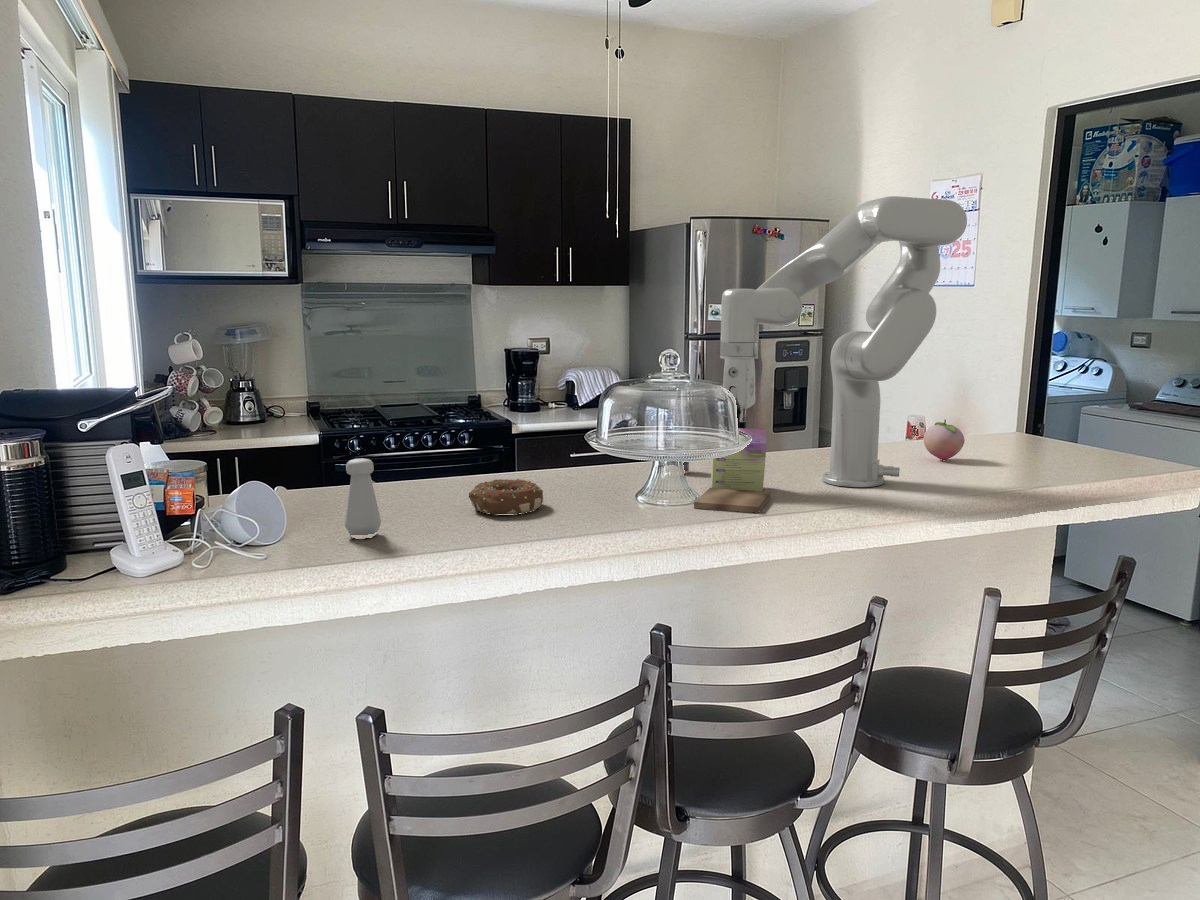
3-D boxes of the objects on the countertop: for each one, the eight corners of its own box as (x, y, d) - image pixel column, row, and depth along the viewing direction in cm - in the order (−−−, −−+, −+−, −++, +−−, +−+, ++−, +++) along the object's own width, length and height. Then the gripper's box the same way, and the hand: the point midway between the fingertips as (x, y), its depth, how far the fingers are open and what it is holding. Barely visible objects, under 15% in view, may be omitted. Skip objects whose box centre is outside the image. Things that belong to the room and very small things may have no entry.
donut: (492, 499, 168) (492, 474, 167) (555, 504, 163) (555, 479, 162) (454, 516, 155) (453, 489, 154) (521, 522, 150) (520, 495, 149)
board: (770, 497, 166) (770, 491, 166) (758, 513, 154) (758, 506, 154) (710, 493, 171) (710, 487, 170) (693, 508, 159) (694, 501, 158)
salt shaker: (338, 537, 141) (333, 460, 138) (365, 530, 145) (360, 455, 143) (362, 543, 137) (357, 464, 135) (388, 534, 142) (385, 458, 140)
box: (761, 475, 177) (764, 427, 170) (763, 491, 172) (766, 442, 165) (710, 474, 178) (712, 426, 171) (711, 491, 173) (713, 442, 166)
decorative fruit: (914, 458, 206) (916, 417, 204) (943, 456, 208) (946, 416, 207) (939, 465, 197) (941, 422, 196) (969, 463, 199) (972, 421, 198)
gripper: (750, 353, 163) (747, 448, 166) (764, 349, 176) (761, 437, 179) (711, 352, 165) (709, 445, 168) (729, 349, 179) (726, 435, 182)
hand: (736, 441), depth 174 cm, fingers closed
